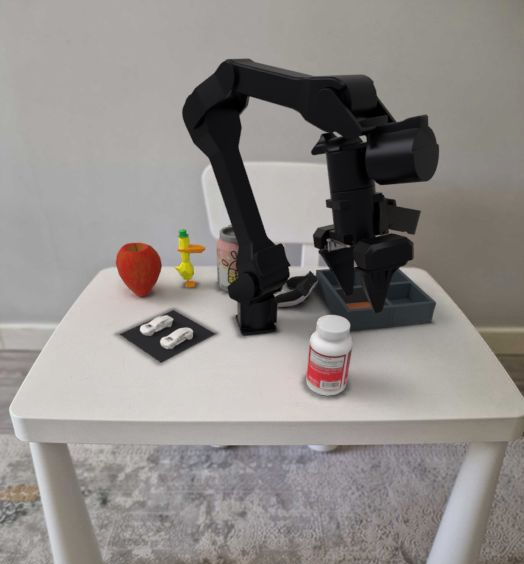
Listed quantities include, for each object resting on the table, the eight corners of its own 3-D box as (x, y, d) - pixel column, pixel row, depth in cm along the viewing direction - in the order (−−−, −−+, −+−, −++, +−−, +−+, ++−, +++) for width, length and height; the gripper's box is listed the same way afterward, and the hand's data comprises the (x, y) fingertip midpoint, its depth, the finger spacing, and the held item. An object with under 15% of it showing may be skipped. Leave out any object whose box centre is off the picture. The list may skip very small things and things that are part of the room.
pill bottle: (325, 366, 74) (333, 307, 67) (354, 386, 70) (365, 325, 63) (297, 381, 70) (302, 321, 64) (326, 402, 66) (334, 340, 60)
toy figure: (208, 281, 98) (205, 227, 91) (206, 289, 95) (203, 234, 88) (176, 281, 98) (171, 226, 91) (174, 288, 95) (168, 233, 88)
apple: (167, 284, 96) (161, 235, 90) (161, 304, 89) (154, 252, 83) (126, 284, 96) (118, 235, 90) (117, 304, 89) (107, 252, 83)
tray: (344, 332, 82) (347, 311, 80) (314, 288, 96) (316, 269, 94) (431, 322, 86) (436, 302, 83) (389, 281, 99) (393, 263, 97)
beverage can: (255, 274, 101) (256, 221, 94) (265, 292, 94) (267, 236, 87) (214, 279, 99) (211, 225, 92) (222, 297, 92) (220, 240, 85)
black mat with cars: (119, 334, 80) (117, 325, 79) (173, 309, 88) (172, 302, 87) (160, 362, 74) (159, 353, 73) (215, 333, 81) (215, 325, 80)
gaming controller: (281, 319, 89) (308, 303, 85) (267, 302, 89) (293, 284, 84) (299, 295, 98) (323, 279, 93) (286, 279, 97) (310, 262, 92)
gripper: (454, 176, 51) (454, 307, 57) (376, 175, 67) (383, 276, 74) (362, 196, 49) (373, 329, 55) (305, 190, 66) (319, 292, 72)
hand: (362, 303), depth 64 cm, fingers open, 9 cm apart
